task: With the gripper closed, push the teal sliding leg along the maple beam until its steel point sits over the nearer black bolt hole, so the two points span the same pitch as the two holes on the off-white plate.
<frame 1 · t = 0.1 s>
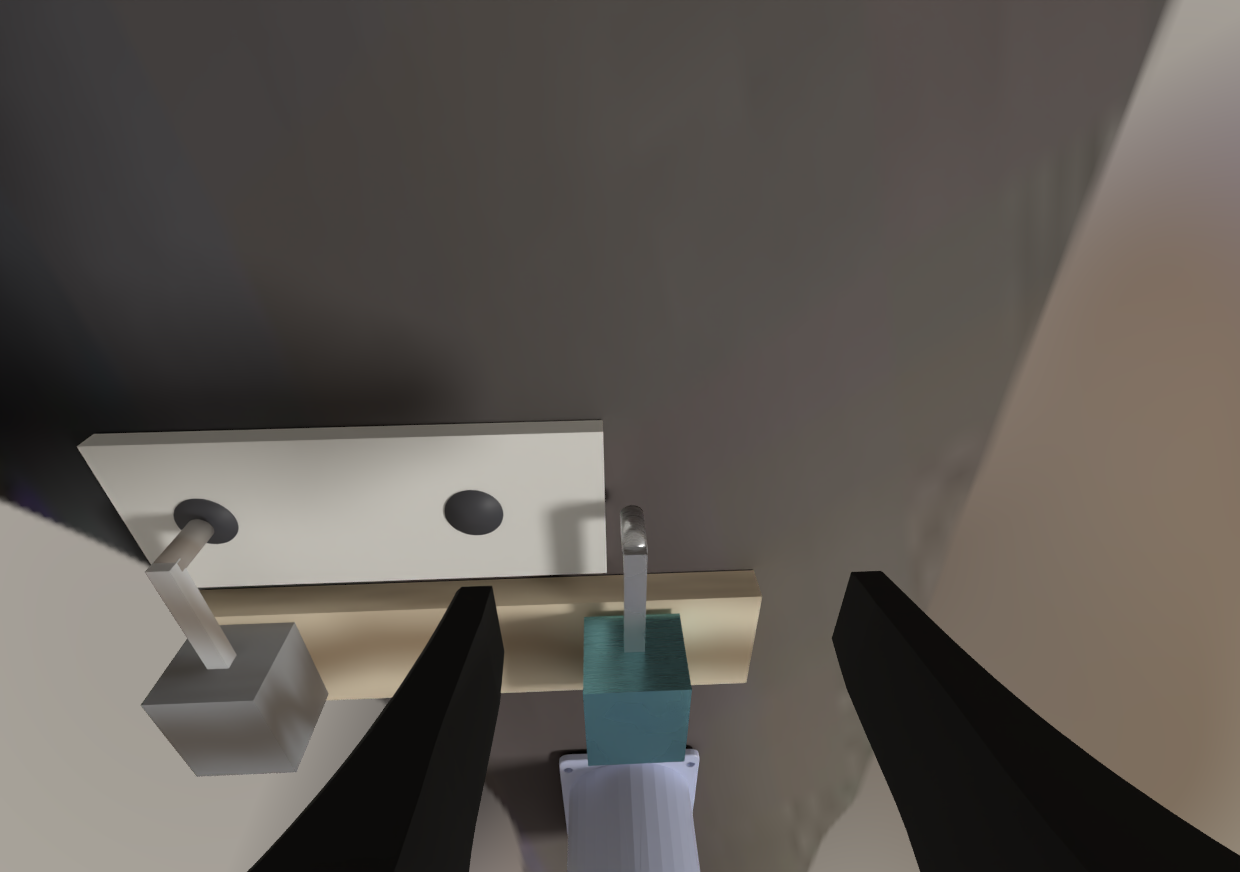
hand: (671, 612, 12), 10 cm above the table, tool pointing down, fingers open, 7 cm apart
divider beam: (500, 624, 27), on the table
bolt plate: (374, 502, 23), on the table
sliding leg: (634, 640, 23), point 3 cm above the table, slide at 0.0 cm
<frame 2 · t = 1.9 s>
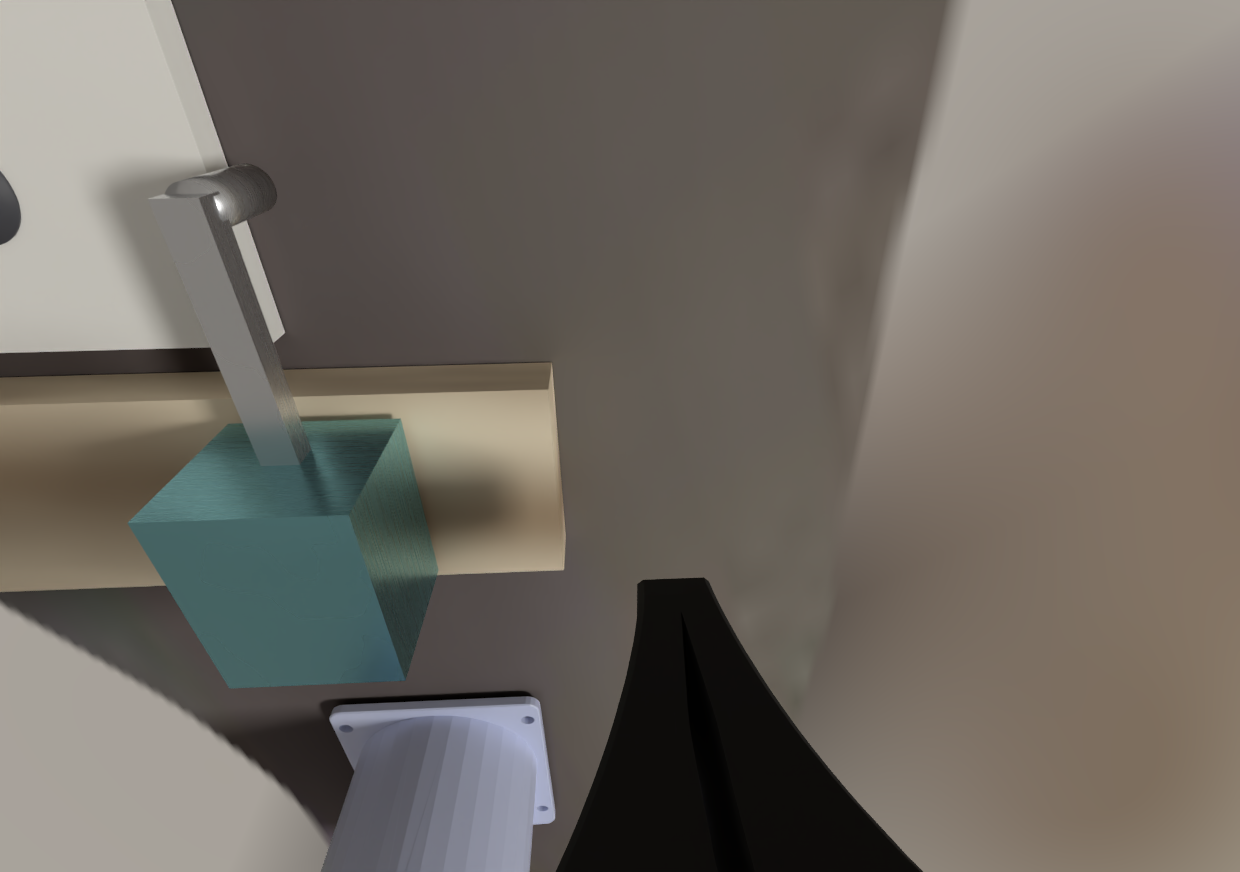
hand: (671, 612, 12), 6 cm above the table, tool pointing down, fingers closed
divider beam: (150, 470, 16), on the table
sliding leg: (284, 447, 12), point 3 cm above the table, slide at 0.0 cm
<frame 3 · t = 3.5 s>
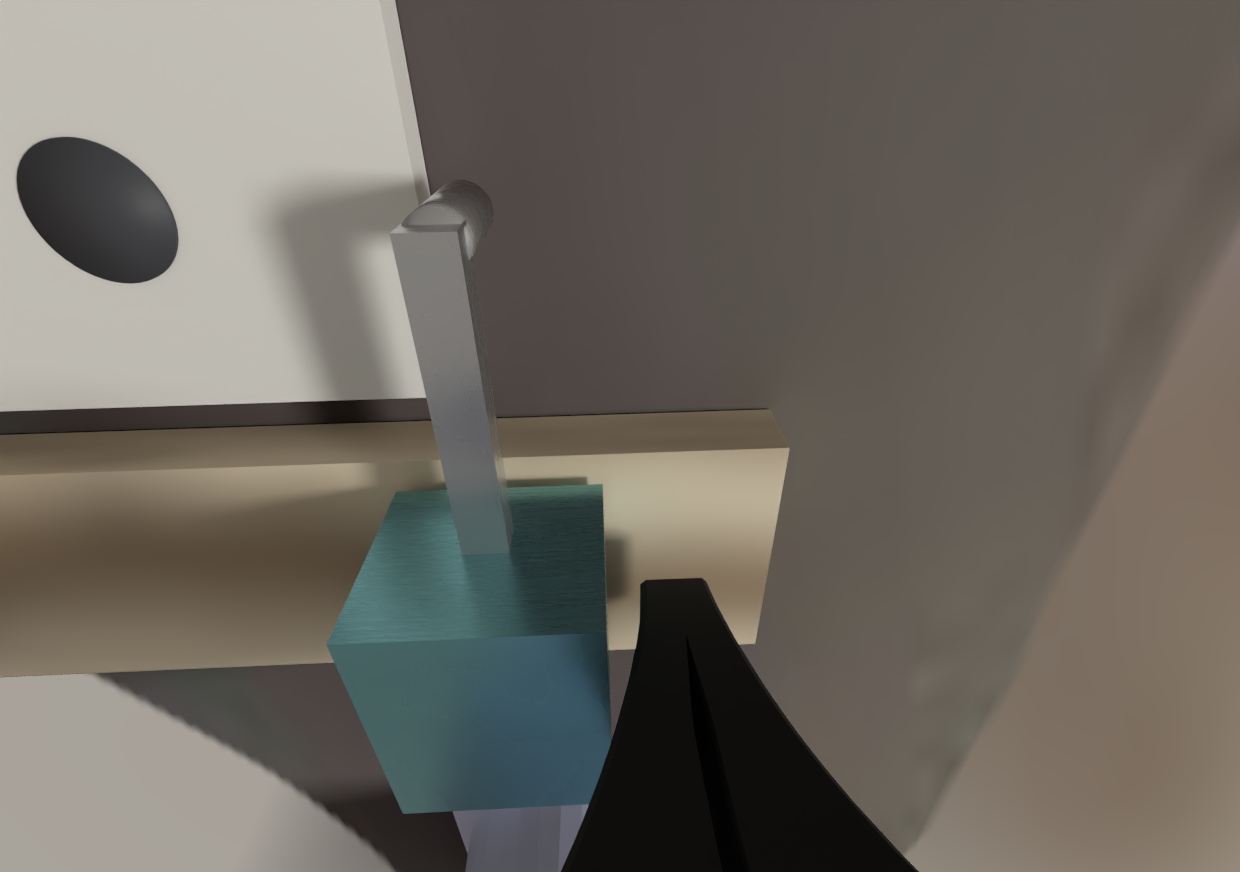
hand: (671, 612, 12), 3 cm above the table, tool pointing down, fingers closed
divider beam: (281, 532, 14), on the table
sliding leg: (486, 529, 10), point 3 cm above the table, slide at 0.2 cm, touching gripper
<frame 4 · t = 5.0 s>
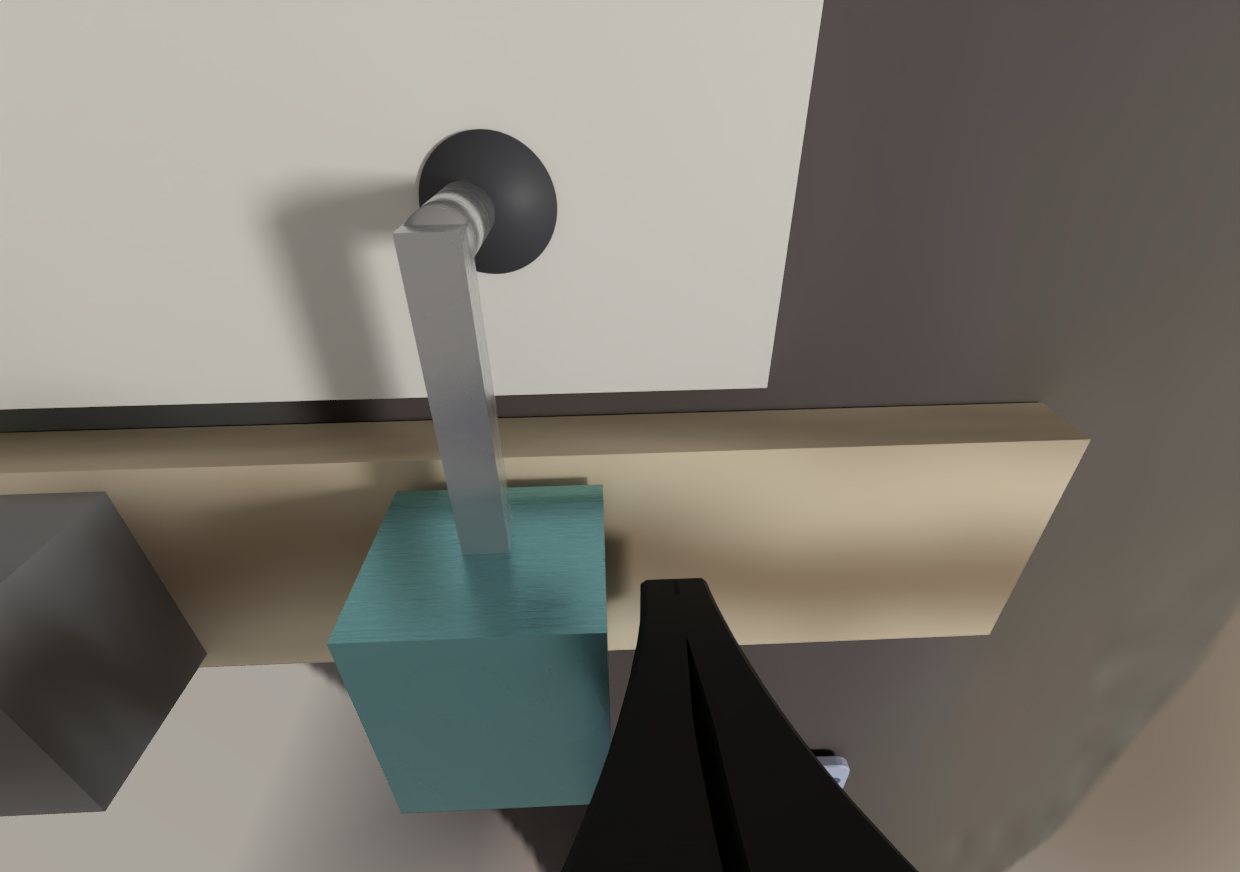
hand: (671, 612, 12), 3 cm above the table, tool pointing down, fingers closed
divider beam: (534, 522, 14), on the table
bolt plate: (261, 200, 10), on the table
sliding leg: (487, 529, 10), point 3 cm above the table, slide at 6.3 cm, touching gripper
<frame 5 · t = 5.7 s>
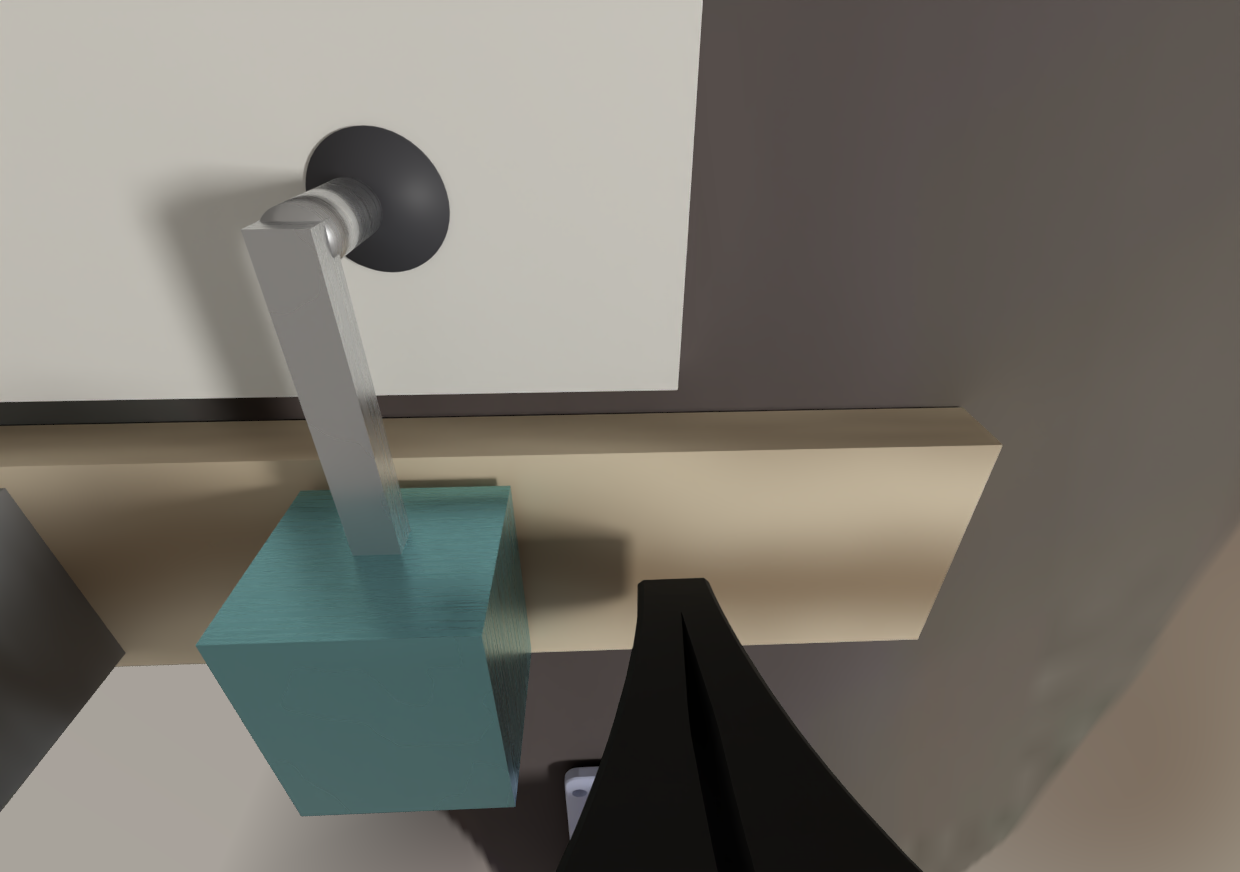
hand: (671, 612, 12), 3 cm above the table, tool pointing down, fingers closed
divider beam: (459, 523, 14), on the table
bolt plate: (155, 194, 10), on the table
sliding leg: (380, 530, 10), point 3 cm above the table, slide at 6.3 cm
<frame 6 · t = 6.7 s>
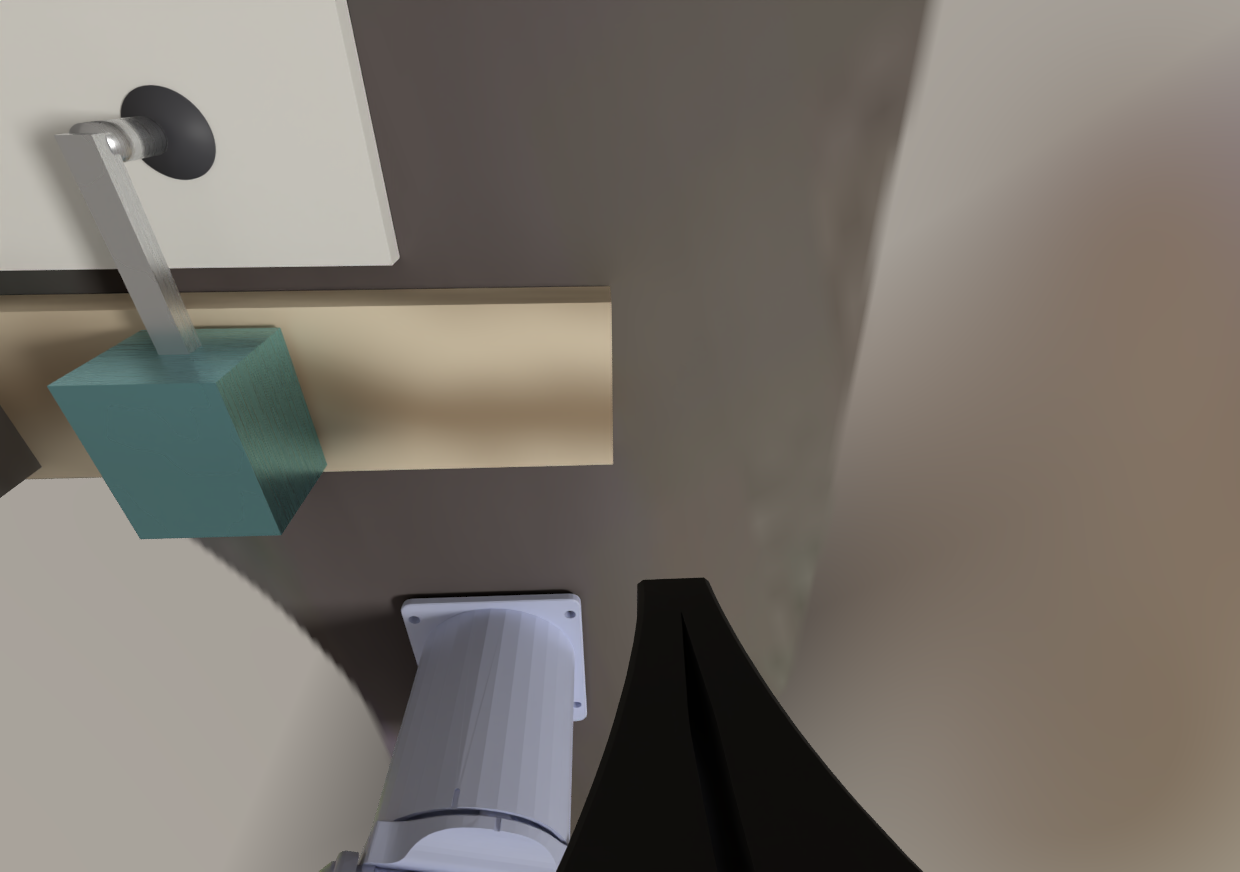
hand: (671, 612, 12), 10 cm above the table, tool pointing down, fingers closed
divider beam: (277, 376, 20), on the table
bolt plate: (36, 132, 16), on the table
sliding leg: (178, 341, 16), point 3 cm above the table, slide at 6.3 cm
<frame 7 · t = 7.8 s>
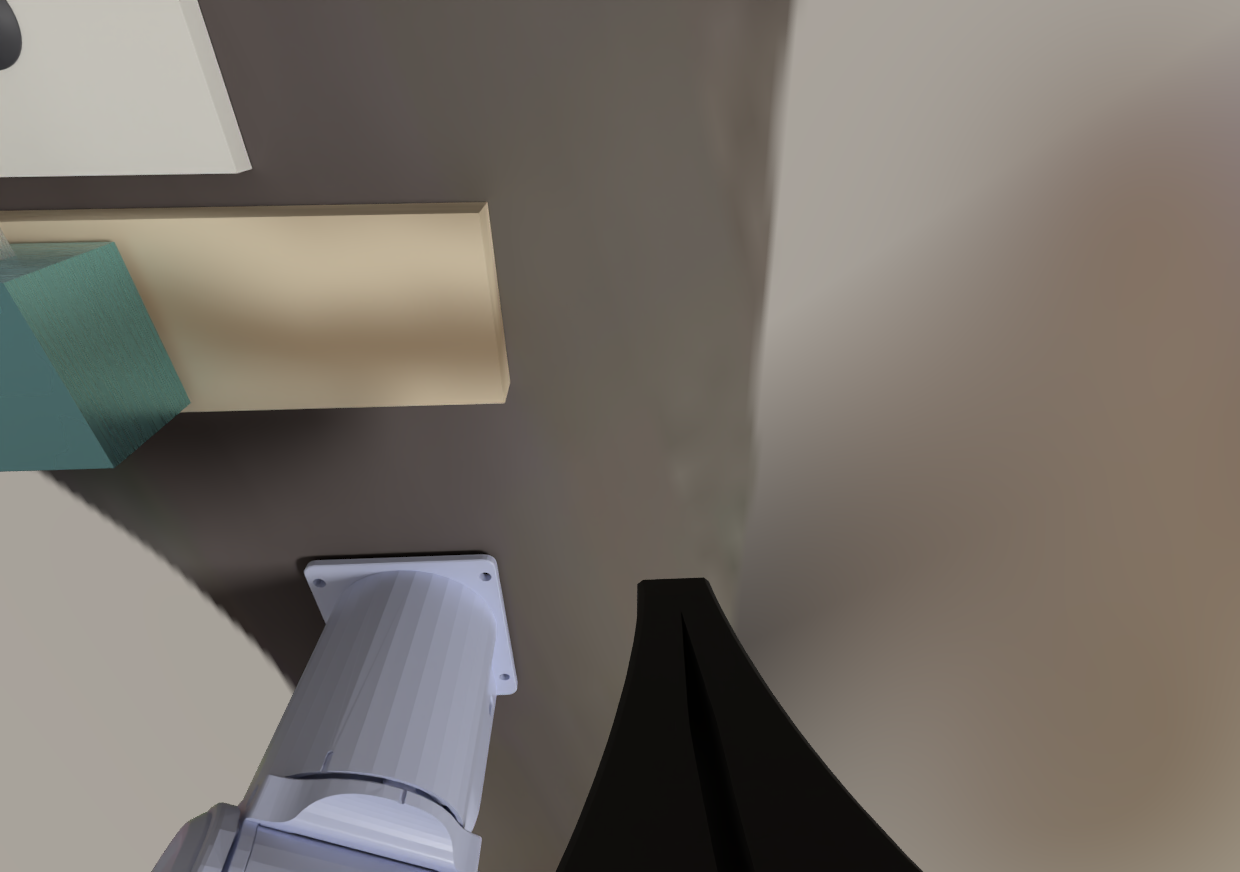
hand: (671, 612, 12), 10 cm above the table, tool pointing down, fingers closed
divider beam: (137, 308, 18), on the table
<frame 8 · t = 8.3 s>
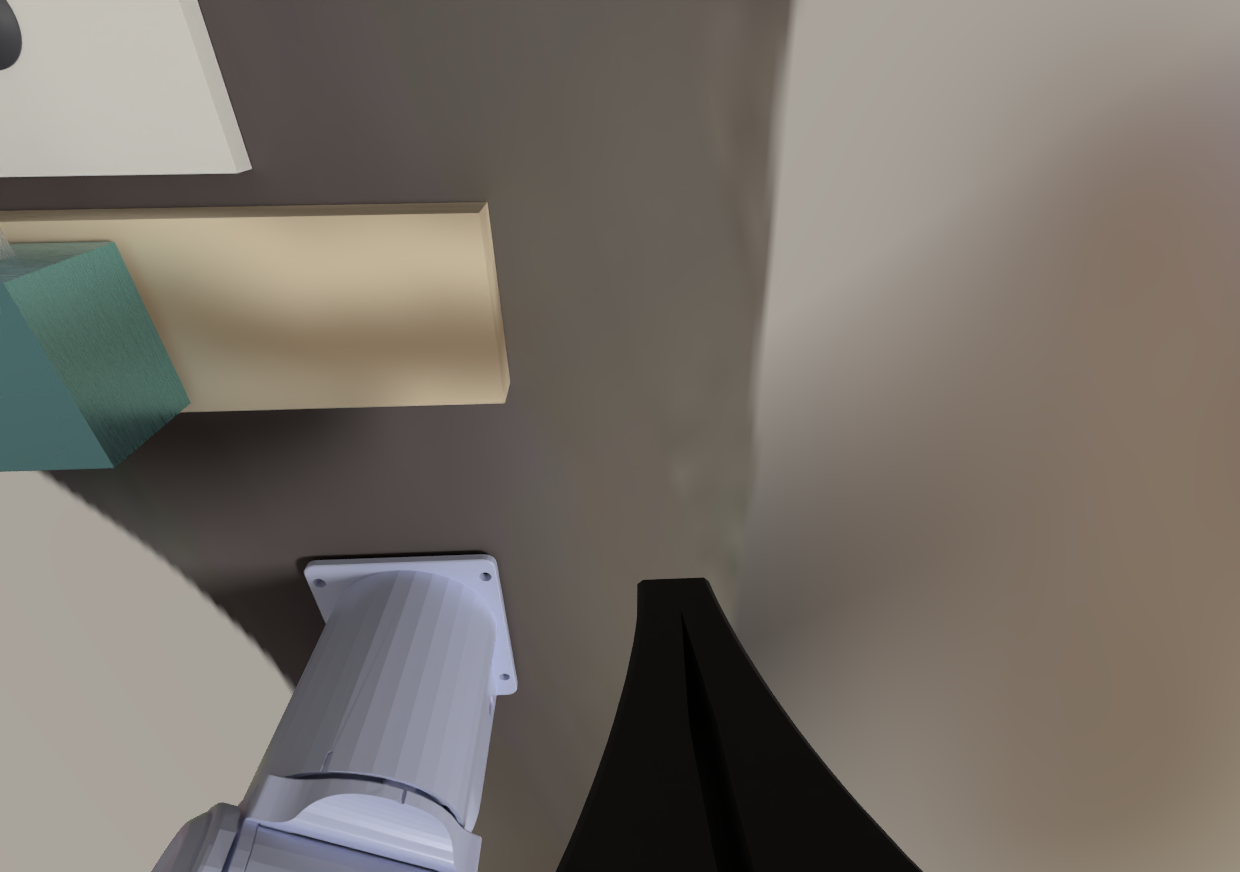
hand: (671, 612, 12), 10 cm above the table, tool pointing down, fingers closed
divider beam: (137, 308, 18), on the table
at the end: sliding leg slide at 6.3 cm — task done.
